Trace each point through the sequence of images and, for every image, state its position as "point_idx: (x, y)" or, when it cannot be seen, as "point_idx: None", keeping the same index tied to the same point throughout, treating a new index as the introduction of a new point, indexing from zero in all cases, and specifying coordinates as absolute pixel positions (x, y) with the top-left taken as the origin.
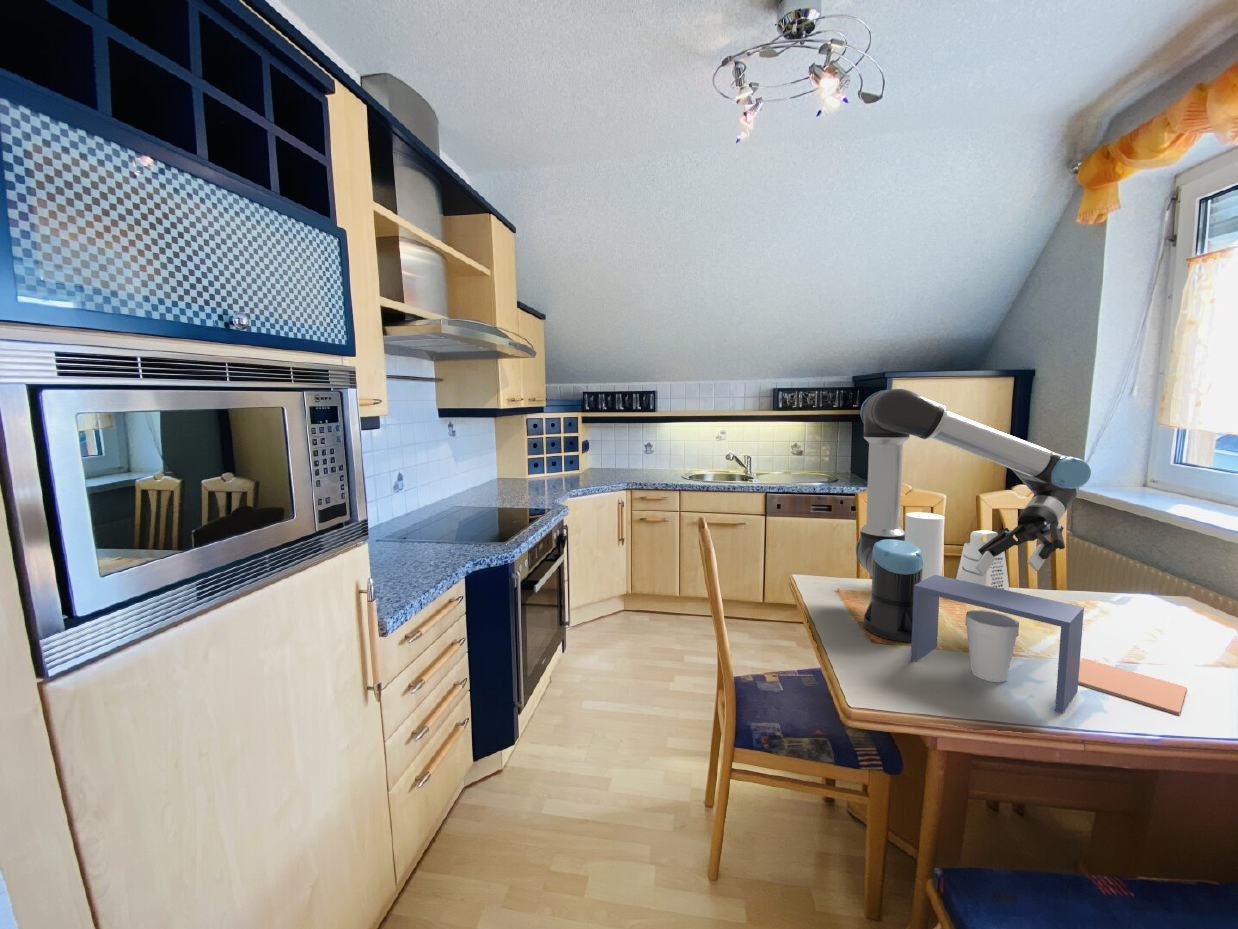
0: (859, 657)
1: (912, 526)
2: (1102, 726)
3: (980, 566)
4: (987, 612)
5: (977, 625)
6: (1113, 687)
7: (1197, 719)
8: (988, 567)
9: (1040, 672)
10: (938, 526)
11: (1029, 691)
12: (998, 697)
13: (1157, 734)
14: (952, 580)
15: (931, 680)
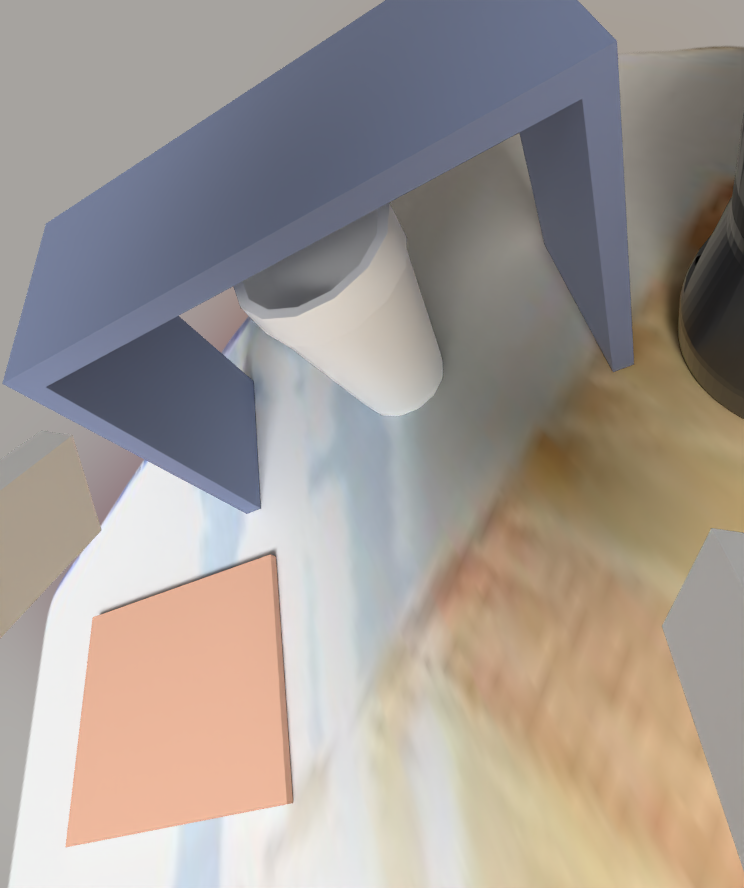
0: (633, 118)
1: None
2: None
3: (715, 592)
4: (348, 276)
5: None
6: (190, 615)
7: (76, 637)
8: (713, 757)
9: (336, 535)
10: None
11: (310, 402)
12: None
13: (129, 483)
14: (469, 92)
15: (451, 228)
